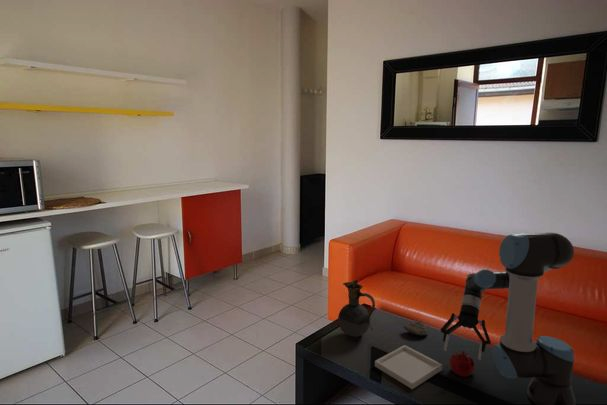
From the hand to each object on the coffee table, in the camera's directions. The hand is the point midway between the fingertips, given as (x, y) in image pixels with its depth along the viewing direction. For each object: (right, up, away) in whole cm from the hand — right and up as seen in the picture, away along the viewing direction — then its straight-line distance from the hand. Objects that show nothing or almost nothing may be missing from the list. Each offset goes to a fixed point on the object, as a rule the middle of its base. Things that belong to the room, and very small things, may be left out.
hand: (461, 354), depth 163 cm
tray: (-22, -7, +4) cm, 23 cm away
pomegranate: (0, -8, 0) cm, 7 cm away
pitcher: (-40, -3, +30) cm, 50 cm away
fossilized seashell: (-10, -2, +32) cm, 34 cm away
